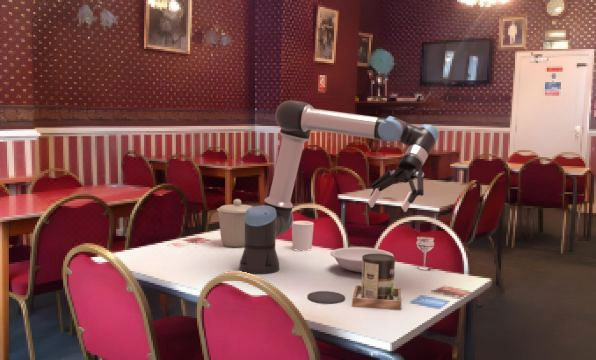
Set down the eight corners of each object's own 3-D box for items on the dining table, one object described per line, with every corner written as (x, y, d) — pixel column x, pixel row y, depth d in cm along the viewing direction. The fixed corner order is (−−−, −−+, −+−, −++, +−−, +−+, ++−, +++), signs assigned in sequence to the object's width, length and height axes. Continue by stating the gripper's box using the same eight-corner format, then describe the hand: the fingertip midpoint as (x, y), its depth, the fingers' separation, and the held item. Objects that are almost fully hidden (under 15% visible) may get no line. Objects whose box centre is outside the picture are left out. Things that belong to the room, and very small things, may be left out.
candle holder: (313, 251, 251) (313, 224, 250) (290, 251, 251) (291, 224, 250) (312, 247, 261) (313, 221, 259) (291, 246, 261) (291, 220, 260)
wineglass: (412, 267, 228) (413, 237, 227) (426, 266, 230) (428, 236, 229) (421, 271, 221) (422, 240, 220) (436, 270, 224) (437, 239, 223)
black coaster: (304, 302, 178) (304, 300, 178) (310, 291, 190) (310, 289, 190) (343, 305, 176) (343, 303, 176) (346, 294, 188) (346, 292, 188)
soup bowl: (318, 266, 224) (318, 250, 224) (368, 261, 236) (368, 245, 235) (353, 281, 203) (354, 263, 203) (406, 274, 215) (407, 257, 215)
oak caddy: (352, 306, 175) (352, 298, 175) (355, 292, 190) (355, 285, 189) (400, 309, 173) (401, 301, 173) (400, 295, 187) (400, 288, 187)
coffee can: (394, 297, 185) (396, 254, 184) (392, 307, 175) (394, 261, 174) (362, 295, 187) (363, 252, 186) (359, 304, 177) (360, 259, 176)
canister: (232, 251, 248) (232, 202, 246) (208, 244, 261) (209, 198, 259) (264, 246, 260) (265, 200, 258) (240, 239, 273) (241, 195, 271)
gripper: (448, 170, 195) (422, 218, 186) (387, 166, 213) (361, 210, 203) (440, 155, 191) (414, 203, 182) (379, 152, 208) (352, 196, 199)
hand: (386, 207), depth 192 cm, fingers open, 13 cm apart
